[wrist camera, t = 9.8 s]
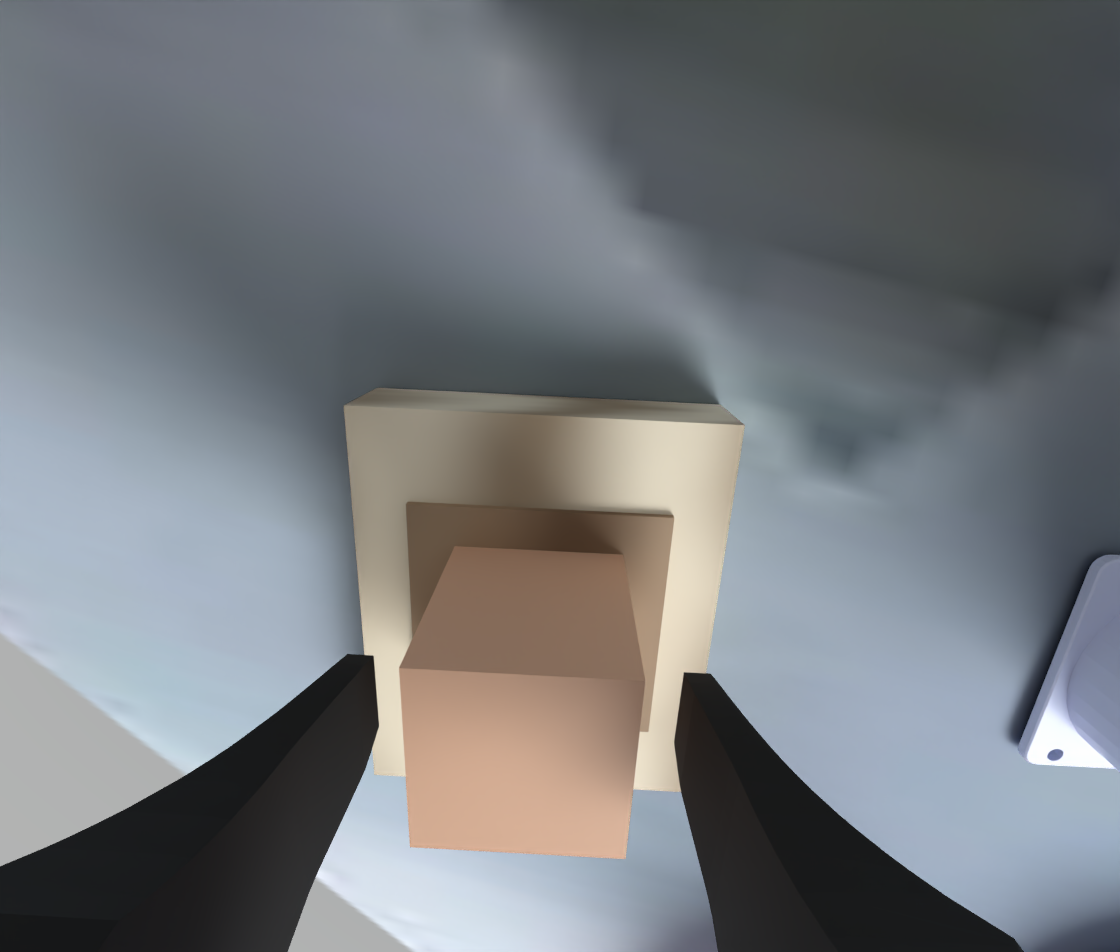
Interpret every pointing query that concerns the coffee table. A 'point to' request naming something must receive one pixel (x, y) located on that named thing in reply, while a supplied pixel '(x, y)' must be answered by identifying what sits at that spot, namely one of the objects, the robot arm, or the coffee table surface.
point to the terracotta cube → (523, 705)
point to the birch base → (543, 522)
